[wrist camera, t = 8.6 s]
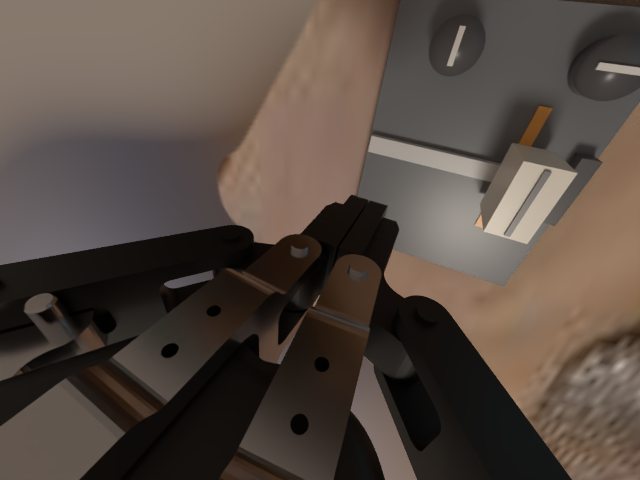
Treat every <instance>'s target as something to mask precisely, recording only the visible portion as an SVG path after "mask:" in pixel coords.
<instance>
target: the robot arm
mask: <svg viewBox="0 0 640 480" xmlns="http://www.w3.org/2000/svg"><path fill="white" fill-rule="evenodd" d="M387 208H388V205H384V204H381V203H378V202H374V201H371V200H370V201H369V200H368V199H364V198H361V197H358V196H355V195H351V196H350V197H349V198H348V199H347V201H346V202H345V203H344V204H340V203H337V202H335V203H332V204H330V205H327V206H326V207H325V208H324V209H323V210H322V211H321V212H320V214H318V215H317V217H316V218H315V219H314V220H313V221H312V222H311V223H310V224H309V225H308V226H307V227H306V229H305V230H304V231H303V232H302V233H301V234H293V235H289V236H286V237H284V238H282V239H281V240H280V241H279V242H277V243H276V244H275V245H273V244H264V243H257V242H254V235H253V233H252V232H251V231H250V230H249V229H247V228H245V227H243V226H238V225H227V226H221V227H216V228H210V229H204V230H198V231H193V232H188V233H181V234H175V235H170V236H164V237H158V238H153V239H147V240H141V241H136V242H130V243H124V244H119V245H114V246H108V247H101V248H96V249H90V250H84V251H79V252H73V253H67V254H61V255H56V256H50V257H44V258H39V259H33V260H27V261H22V262H16V263H10V264H4V265H0V480H385V478H384V475H383V471H382V468H381V465H380V462H379V459H378V456H377V453H376V451H375V449H374V446H373V444H372V442H371V440H370V438H369V436H368V434H367V432H366V431H365V429H364V428H363V426H362V425H361V423H360V422H359V420H358V419H357V418H356V417H355V415H354V414H353V413H352V412H351V411H350V410H351V406H352V402H353V397H354V393H355V389H356V385H357V381H358V377H359V373H360V369H361V365H362V360H363V357H364V356H365V357H366V358H367V359H368V360H370V361H371V362H372V363H373V364H374V372H375V375H376V378H377V380H378V383H379V385H380V388H381V390H382V393H383V395H384V398H385V400H386V403H387V405H388V408H389V410H390V413H391V415H392V418H393V420H394V423H395V425H396V428H397V430H398V433H399V435H400V438H401V440H402V443H403V445H404V448H405V450H406V452H407V455H408V458H409V460H410V463H411V465H412V468H413V470H414V473H415V475H416V477H417V480H572V479H571V478H570V477H569V475H568V474H567V472H566V471H565V470H564V468H563V467H562V466H561V464H560V463H559V462H558V460H557V459H556V458H555V456H554V455H553V453H552V452H551V451H550V449H549V448H548V447H547V445H546V444H545V443H544V441H543V440H542V438H541V437H540V436H539V434H538V433H537V432H536V430H535V429H534V428H533V426H532V425H531V424H530V422H529V421H528V419H527V418H526V417H525V415H524V414H523V413H522V411H521V410H520V409H519V407H518V406H517V405H516V403H515V402H514V400H513V399H512V398H511V396H510V395H509V394H508V392H507V391H506V390H505V388H504V387H503V386H502V384H501V383H500V381H499V380H498V379H497V377H496V376H495V375H494V373H493V372H492V371H491V369H490V368H489V367H488V365H487V364H486V362H485V361H484V360H483V358H482V357H481V356H480V354H479V353H478V352H477V350H476V349H475V348H474V346H473V345H472V343H471V342H470V341H469V339H468V338H467V337H466V335H465V334H464V333H463V331H462V330H461V329H460V327H459V326H458V324H457V323H456V322H455V320H454V319H453V318H452V316H451V315H450V314H449V312H448V311H447V310H446V309H445V308H444V307H443V306H442V305H441V304H439V303H438V302H436V301H434V300H432V299H430V298H427V297H424V296H417V295H415V296H409V297H406V298H403V297H402V296H400V295H399V294H397V293H396V292H395V291H394V290H393V289H391V288H390V286H389V285H388V284H387V282H386V280H385V277H384V271H385V269H386V266H387V263H388V261H389V258H390V255H391V252H392V249H393V247H394V244H395V241H396V238H397V235H398V233H399V227H398V224H397V221H393V220H390V219H387V218H385V215H386V212H387ZM211 270H212V271H213V277H214V278H213V279H211V280H208V281H204V282H200V283H196V284H192V285H188V286H184V287H180V288H174V289H172V288H168V287H166V286H165V285H164V283H165V282H167V281H170V280H174V279H178V278H181V277H186V276H190V275H194V274H199V273H203V272H207V271H211ZM319 295H320V297H319V299H318V301H317V303H316V305H315V307H313V304H314V302H315V301H316V299H317V297H318V296H319ZM294 335H295V336H294ZM293 336H294V338H293ZM292 338H293V340H292V342H291V344H290V346H289V348H288V350H287V352H286V354H285V356H284V358H283V360H282V362H281V364H277V362H278V359H279V357H280V355H281V353H282V352H283V350H284V349H285V347H286V346H287V345H288V343H289V342H290V341H291V339H292Z"/></svg>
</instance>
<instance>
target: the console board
mask: <svg viewBox="0 0 640 480" xmlns="http://www.w3.org/2000/svg"><path fill="white" fill-rule="evenodd" d="M639 102H640V7H631V6H620V5H608V4H597V3H585V2H573V1H562V0H400V3H399V8H398V13H397V17H396V22H395V26H394V31H393V35H392V40H391V44H390V49H389V53H388V58H387V63H386V67H385V72H384V76H383V81H382V85H381V90H380V94H379V99H378V103H377V108H376V113H375V117H374V122H373V126H372V131H371V135H370V140H369V144H368V149H367V153H366V158H365V163H364V167H363V172H362V176H361V181H360V185H359V190H358V194H357V196H358V197H361V198H364V199H368V200H369V201H370V200H371V201H374V202H378V203H381V204H384V205H388V208H387V212H386V215H385V218H387V219H390V220H393V221H397V224H398V227H399V233H398V235H397V238H396V241H395V244H394V247H393V250H396V251H399V252H402V253H405V254H408V255H411V256H414V257H417V258H420V259H423V260H426V261H429V262H432V263H435V264H438V265H441V266H444V267H447V268H450V269H453V270H456V271H459V272H462V273H465V274H468V275H471V276H474V277H477V278H480V279H483V280H486V281H489V282H492V283H495V284H498V285H501V286H505V284H506V283H507V281H508V280H509V279H510V277H511V276H512V275H513V273H514V272H515V271H516V269H517V268H518V267H519V265H520V264H521V262H522V261H523V260H524V258H525V257H526V256H527V254H528V253H529V252H530V250H531V249H532V247H533V246H534V245H535V243H536V242H537V241H538V239H539V238H540V237H541V235H542V234H543V232H544V231H545V230H546V228H547V227H548V226H549V224H550V225H553V226H555V225H556V224H557V223H558V221H559V220H560V219H561V217H562V216H563V215H564V213H565V212H566V211H567V209H568V208H569V207H570V205H571V204H572V203H573V201H574V200H575V199H576V197H577V196H578V195H579V193H580V192H581V191H582V189H583V188H584V187H585V185H586V184H587V183H588V181H589V180H590V179H591V177H592V176H593V175H594V173H595V172H596V171H597V169H598V168H599V167H600V165H601V164H602V163H603V162H601V161H600V160H599V159H598V158H599V156H600V155H601V154H602V152H603V151H604V149H605V148H606V147H607V145H608V144H609V143H610V141H611V140H612V139H613V137H614V136H615V134H616V133H617V132H618V130H619V129H620V128H621V126H622V125H623V124H624V122H625V121H626V119H627V118H628V117H629V115H630V114H631V113H632V111H633V110H634V109H635V107H636V106H637V105H638V103H639ZM512 143H516V144H521V145H526V146H531V147H535V148H540V149H545V150H550V151H554V152H556V153H557V154H559V155H560V156H561V157H562V158H563V159H564V160H565V161H566V162H567V163H568V164H569V165H570V166H571V167H572V168H573V169H574V170H575V171H576V172H577V173H578V174H577V175H576V176H575V178H574V179H573V181H572V182H571V183H570V185H569V186H568V188H567V189H566V190H565V192H564V193H563V195H562V196H561V197H560V199H559V200H558V202H557V203H556V205H555V206H554V207H553V209H552V210H551V212H550V213H549V214H548V216H547V217H546V219H545V220H544V221H543V223H542V224H541V226H540V227H539V228H538V230H537V231H536V233H535V234H534V235H533V237H532V238H531V240H530V241H529V242H528V244H525V243H521V242H518V241H515V240H511V239H508V238H504V237H501V236H497V235H494V234H491V233H487V232H484V231H483V225H482V217H481V210H480V203H481V201H482V199H483V197H484V195H485V193H486V191H487V190H488V188H489V186H490V184H491V182H492V180H493V178H494V176H495V174H496V172H497V171H498V169H499V167H500V165H501V163H502V161H503V159H504V157H505V155H506V153H507V152H508V150H509V148H510V146H511V144H512Z"/></svg>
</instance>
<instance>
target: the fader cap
mask: <svg viewBox="0 0 640 480" xmlns="http://www.w3.org/2000/svg"><path fill="white" fill-rule="evenodd" d="M577 174H578V173H577V172H576V171H575V170H574V169H573V168H572V167H571V166H570V165H569V164H568V163H567V162H566V161H565V160H564V159H563V158H562V157H561V156H560V155H559V154H557V153H556V152H554V151H550V150H545V149H540V148H535V147H531V146H526V145H521V144H516V143H512V144H511V146H510V148H509V150H508V152H507V153H506V155H505V157H504V159H503V161H502V163H501V165H500V167H499V169H498V171H497V172H496V174H495V176H494V178H493V180H492V182H491V184H490V186H489V188H488V190H487V191H486V193H485V195H484V197H483V199H482V201H481V203H480V210H481V217H482V225H483V231H484V232H487V233H491V234H494V235H497V236H501V237H504V238H508V239H511V240H515V241H518V242H521V243H525V244H528V242H529V241H530V240H531V238H532V237H533V235H534V234H535V233H536V231H537V230H538V228H539V227H540V226H541V224H542V223H543V221H544V220H545V219H546V217H547V216H548V214H549V213H550V212H551V210H552V209H553V207H554V206H555V205H556V203H557V202H558V200H559V199H560V197H561V196H562V195H563V193H564V192H565V190H566V189H567V188H568V186H569V185H570V183H571V182H572V181H573V179H574V178H575V176H576V175H577Z"/></svg>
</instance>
